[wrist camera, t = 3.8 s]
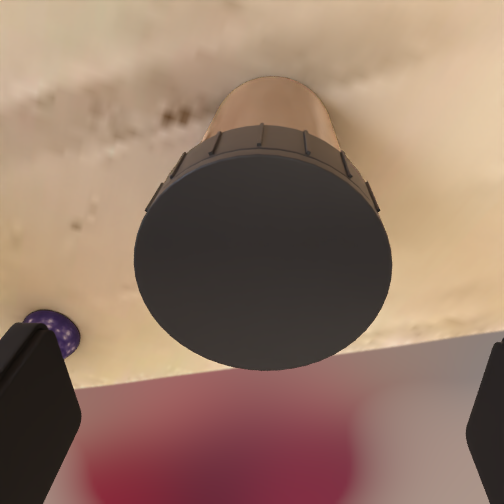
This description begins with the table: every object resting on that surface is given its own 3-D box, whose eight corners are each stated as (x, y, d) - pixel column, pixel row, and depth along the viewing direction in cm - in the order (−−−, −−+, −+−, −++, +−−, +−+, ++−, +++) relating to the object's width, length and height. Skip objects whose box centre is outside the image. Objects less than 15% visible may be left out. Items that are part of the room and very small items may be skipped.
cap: (170, 317, 18) (152, 370, 15) (139, 122, 14) (108, 152, 11) (364, 321, 17) (377, 376, 15) (389, 119, 13) (413, 149, 11)
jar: (216, 195, 26) (167, 347, 15) (207, 77, 23) (136, 163, 12) (328, 194, 26) (361, 351, 15) (336, 74, 23) (386, 161, 12)
